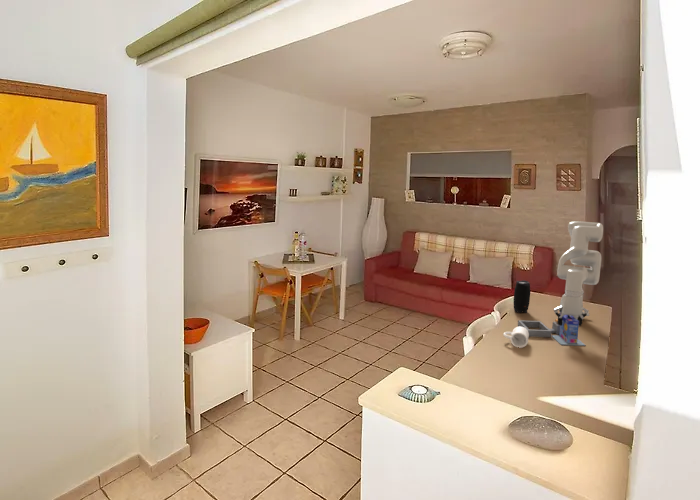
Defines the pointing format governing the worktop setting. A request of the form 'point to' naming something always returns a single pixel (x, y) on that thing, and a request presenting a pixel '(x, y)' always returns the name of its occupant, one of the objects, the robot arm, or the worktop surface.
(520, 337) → the mug
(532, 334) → the dock
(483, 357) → the worktop surface
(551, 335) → the mat
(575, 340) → the ink cartridge box
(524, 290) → the portable speaker
